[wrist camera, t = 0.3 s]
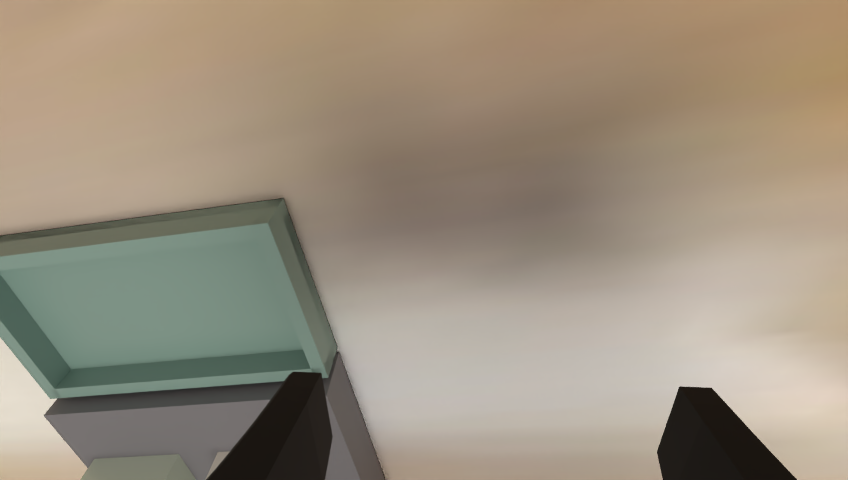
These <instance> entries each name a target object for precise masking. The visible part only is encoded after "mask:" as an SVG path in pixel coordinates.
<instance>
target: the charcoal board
mask: <svg viewBox="0 0 848 480" xmlns="http://www.w3.org/2000/svg"><path fill="white" fill-rule="evenodd" d="M322 379H323V384H324V390H325V396H326V401H327V407H328V413H329V418H330V424H331V430H332V435H333V438H332V444H331V449H330V455H329V461H328V466H327V472H326V477H325V480H385V478H384V475H383V472H382V469H381V467H380V464H379V461H378V458H377V456H376V453H375V450H374V447H373V445H372V442H371V439H370V436H369V434H368V431H367V428H366V425H365V423H364V420H363V417H362V414H361V412H360V409H359V406H358V403H357V401H356V398H355V395H354V392H353V390H352V387H351V384H350V381H349V379H348V376H347V373H346V370H345V368H344V365H343V362H342V359H341V356H340V354H339V352H337V353H335V357H334V360H333V364H332V367H331V371H330V374H329V377H328V378H322ZM283 382H284V381H279V382H266V383H252V384H239V385H226V386H213V387H200V388H187V389H173V390H160V391H147V392H134V393H121V394H107V395H94V396H81V397H68V398H58V399H57V400H56V401H55V402H54V404H53V405H52V406H51V407H50V409H49V410H48V411H47V412H46V413H45V415H44V416H45V418H46V419H47V420H48V421H49V422H50V424H51V425H52V426H53V427H54V428H55V429H56V431H57V432H58V433H59V434H60V435H61V437H62V438H63V439H64V440H65V441H66V443H67V444H68V445H69V446H70V447H71V449H72V450H73V451H74V452H75V453H76V454H77V456H78V457H79V458H80V459H81V460H82V462H83V463H84V464H85V465H86V466H87V468H89V466H90V465H91V463H92V462H93V460H94V459H100V458H118V457H137V456H155V455H173V454H179V455H180V457H181V458H182V460H183V461H184V463H185V464H186V466H187V467H188V468H189V470H190V471H191V473H192V474H193V476H194V477H195V479H196V480H205V479H206V477H207V475H208V473H209V471H210V468H211V466H212V464H213V462H214V460H215V457H216V455H217V453H218V452H228V451H231V450H232V448H233V447H234V446H235V445H236V443H237V442H238V441H239V440H240V438H241V437H242V436H243V435H244V434H245V432H246V431H247V430H248V429H249V427H250V426H251V425H252V423H253V422H254V421H255V420H256V418H257V417H258V416H259V414H260V413H261V412H262V410H263V409H264V408H265V407H266V405H267V404H268V403H269V401H270V400H271V398H272V397H273V396H274V394H275V393H276V392H277V390H278V389H279V388H280V386H281V385H282V383H283Z"/></svg>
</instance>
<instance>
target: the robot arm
mask: <svg viewBox="0 0 848 480" xmlns="http://www.w3.org/2000/svg"><path fill="white" fill-rule="evenodd" d="M332 438H333V435H332V430H331V424H330V418H329V413H328V407H327V401H326V396H325V390H324V384H323V379H322V373H316V372H292V373H291V374H289V375H288V377H287V378H286V379H285V381H284V382H283V383H282V385H281V386H280V388H279V389H278V390H277V392H276V393H275V394H274V396H273V397H272V398H271V400H270V401H269V403H268V404H267V405H266V407H265V408H264V409H263V410H262V412H261V413H260V414H259V416H258V417H257V418H256V420H255V421H254V422H253V423H252V425H251V426H250V427H249V429H248V430H247V431H246V432H245V434H244V435H243V436H242V437H241V438H240V440H239V441H238V442H237V443H236V445H235V446H234V447H233V448H232V450H231V451H230V452H229V453H228V454H227V456H226V457H225V458H224V459H223V461H222V462H221V463H220V464H219V465H218V466H217V468H216V469H215V470H214V471H213V472H212V473H211V474H210V476H209V477H208V478H207V479H206V480H325V477H326V472H327V466H328V461H329V455H330V449H331V444H332ZM657 454H658V459H659V463H660V468H661V473H662V477H663V480H797V479H796V478H795V477H794V476H793V475H792V474H791V473H790V472H789V471H788V470H787V469H786V468H785V467H784V466H783V465H782V464H781V462H780V461H779V460H778V459H777V458H776V457H775V456H774V455H773V454H772V453H771V452H770V451H769V450H768V449H767V448H766V446H765V445H764V444H763V443H762V442H761V441H760V440H759V439H758V438H757V437H756V436H755V435H754V434H753V432H752V431H751V430H750V429H749V428H748V427H747V426H746V425H745V424H744V423H743V422H742V420H741V419H740V418H739V417H738V416H737V415H736V414H735V413H734V412H733V411H732V410H731V408H730V407H729V406H728V405H727V404H726V403H725V402H724V401H723V400H722V399H721V398H720V397H719V395H718V394H717V393H716V392H715V391H714V390H713V389H712V388H701V387H679V389H678V392H677V395H676V398H675V401H674V404H673V407H672V410H671V413H670V416H669V418H668V421H667V424H666V427H665V430H664V433H663V436H662V439H661V442H660V445H659V448H658V451H657Z"/></svg>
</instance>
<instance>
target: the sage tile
mask: <svg viewBox="0 0 848 480" xmlns="http://www.w3.org/2000/svg"><path fill="white" fill-rule="evenodd" d="M81 480H196V479H195V477H194V476H193V474H192V473H191V471H190V470H189V468H188V467H187V466H186V464H185V463H184V461H183V460H182V458H181V457H180V455H179V454H173V455H155V456H137V457H118V458H100V459H94V460H93V462H92V463H91V465H90V466H89V468H88V469H87V471H86V472H85V474H84V475H83V477H82V478H81Z"/></svg>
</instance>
